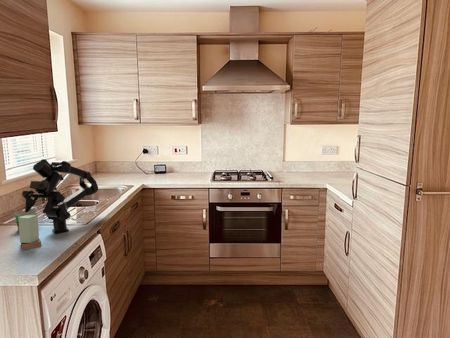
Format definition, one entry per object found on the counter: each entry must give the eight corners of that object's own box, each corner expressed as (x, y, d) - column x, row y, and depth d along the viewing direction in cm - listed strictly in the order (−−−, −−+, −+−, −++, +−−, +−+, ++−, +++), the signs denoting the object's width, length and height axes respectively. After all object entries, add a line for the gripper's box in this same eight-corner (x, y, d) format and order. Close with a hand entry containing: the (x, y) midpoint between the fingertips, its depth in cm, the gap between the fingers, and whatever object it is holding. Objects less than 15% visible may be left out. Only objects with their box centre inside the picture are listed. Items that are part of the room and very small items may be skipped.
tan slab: (21, 246, 142) (20, 240, 142) (39, 242, 146) (38, 236, 146) (23, 251, 137) (22, 245, 136) (41, 246, 141) (41, 241, 141)
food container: (26, 231, 159) (24, 212, 157) (15, 231, 160) (13, 211, 158) (44, 223, 171) (42, 205, 169) (34, 223, 172) (32, 204, 170)
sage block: (29, 238, 144) (27, 214, 143) (38, 239, 143) (37, 215, 142) (20, 242, 139) (18, 217, 138) (30, 243, 138) (28, 217, 137)
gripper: (22, 173, 148) (4, 202, 139) (57, 173, 144) (41, 204, 135) (37, 186, 156) (21, 214, 148) (71, 187, 153) (57, 216, 144)
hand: (34, 212), depth 143 cm, fingers open, 9 cm apart
